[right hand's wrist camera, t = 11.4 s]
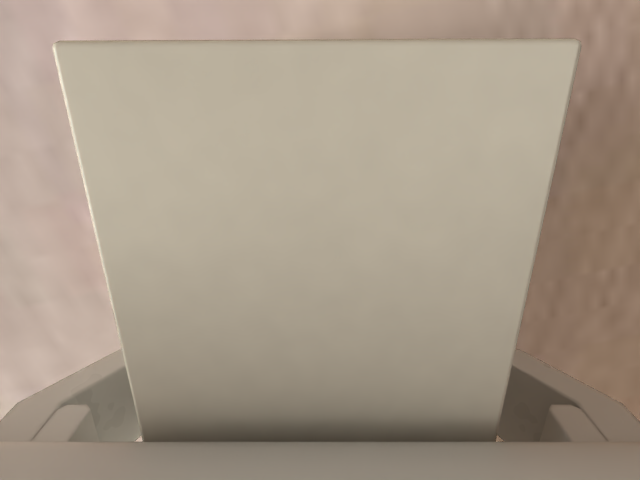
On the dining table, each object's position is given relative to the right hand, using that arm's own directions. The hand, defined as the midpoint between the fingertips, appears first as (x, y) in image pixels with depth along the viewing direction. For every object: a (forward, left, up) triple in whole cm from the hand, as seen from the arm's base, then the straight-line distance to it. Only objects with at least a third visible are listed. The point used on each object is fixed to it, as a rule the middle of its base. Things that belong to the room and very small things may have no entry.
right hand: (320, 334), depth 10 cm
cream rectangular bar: (+19, -8, -3) cm, 21 cm away
